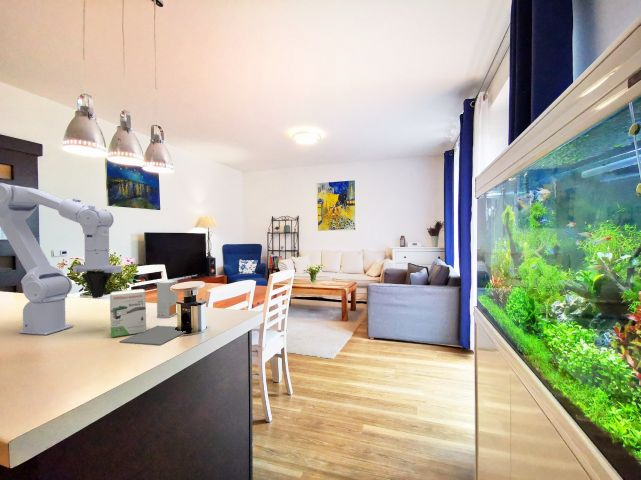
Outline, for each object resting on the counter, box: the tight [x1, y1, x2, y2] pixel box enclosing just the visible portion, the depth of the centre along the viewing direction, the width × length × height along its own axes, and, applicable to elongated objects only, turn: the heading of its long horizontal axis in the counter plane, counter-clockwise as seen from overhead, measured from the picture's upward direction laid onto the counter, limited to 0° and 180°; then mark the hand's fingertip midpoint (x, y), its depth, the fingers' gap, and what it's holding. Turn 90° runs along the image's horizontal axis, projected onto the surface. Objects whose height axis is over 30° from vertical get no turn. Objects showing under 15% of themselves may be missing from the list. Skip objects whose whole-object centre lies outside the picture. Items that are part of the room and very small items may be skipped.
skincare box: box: [156, 279, 179, 319], centre depth 105 cm, size 6×4×12 cm
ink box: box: [109, 288, 147, 338], centre depth 86 cm, size 9×5×12 cm, turn 124°
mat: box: [119, 325, 187, 346], centre depth 85 cm, size 12×14×1 cm
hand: (97, 297), depth 88 cm, fingers closed
